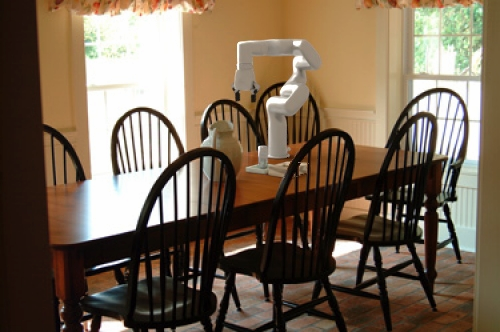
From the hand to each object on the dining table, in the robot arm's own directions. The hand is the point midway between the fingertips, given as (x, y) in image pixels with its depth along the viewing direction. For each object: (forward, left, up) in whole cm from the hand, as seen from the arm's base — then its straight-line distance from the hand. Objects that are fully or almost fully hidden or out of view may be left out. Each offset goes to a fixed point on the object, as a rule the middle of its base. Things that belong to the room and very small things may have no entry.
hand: (245, 101), depth 367 cm
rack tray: (+13, +20, -30) cm, 39 cm away
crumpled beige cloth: (+12, +34, -30) cm, 47 cm away
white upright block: (+13, +20, -30) cm, 38 cm away
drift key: (+4, +34, -30) cm, 46 cm away
